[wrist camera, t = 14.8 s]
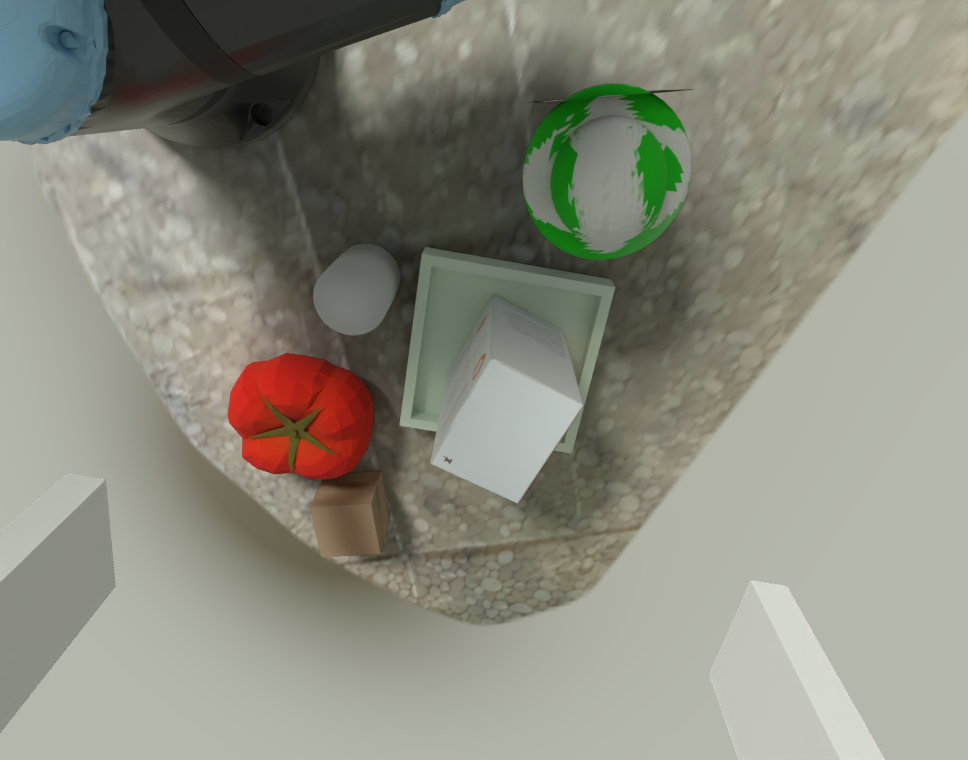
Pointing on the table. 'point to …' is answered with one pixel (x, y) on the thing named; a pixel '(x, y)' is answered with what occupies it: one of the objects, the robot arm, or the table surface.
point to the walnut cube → (351, 514)
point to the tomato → (301, 416)
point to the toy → (607, 171)
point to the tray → (461, 300)
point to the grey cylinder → (357, 289)
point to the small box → (506, 401)
